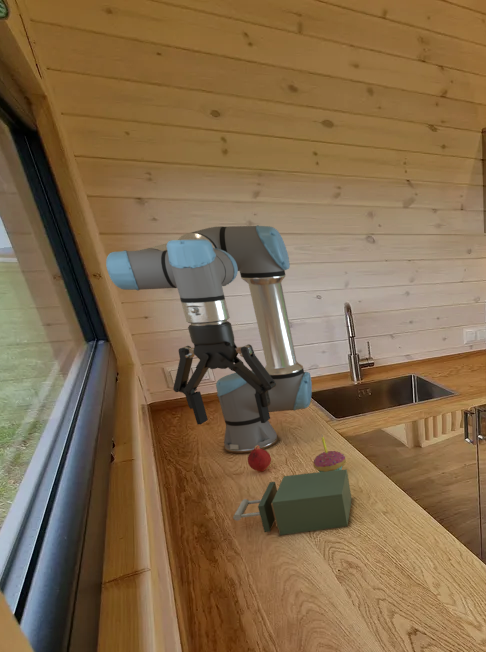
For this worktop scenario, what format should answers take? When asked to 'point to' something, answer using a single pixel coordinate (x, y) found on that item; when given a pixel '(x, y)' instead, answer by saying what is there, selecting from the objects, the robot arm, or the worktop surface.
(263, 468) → the onion
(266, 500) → the drawer
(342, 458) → the cupcake
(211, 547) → the worktop surface
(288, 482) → the cabinet
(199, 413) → the robot arm
